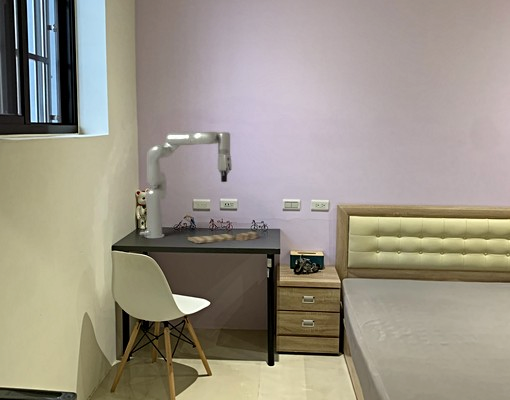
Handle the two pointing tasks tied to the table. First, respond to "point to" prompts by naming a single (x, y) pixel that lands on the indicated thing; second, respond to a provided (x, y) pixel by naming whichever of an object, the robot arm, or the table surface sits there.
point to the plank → (202, 239)
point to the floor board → (223, 237)
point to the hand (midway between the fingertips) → (224, 181)
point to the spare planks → (247, 236)
